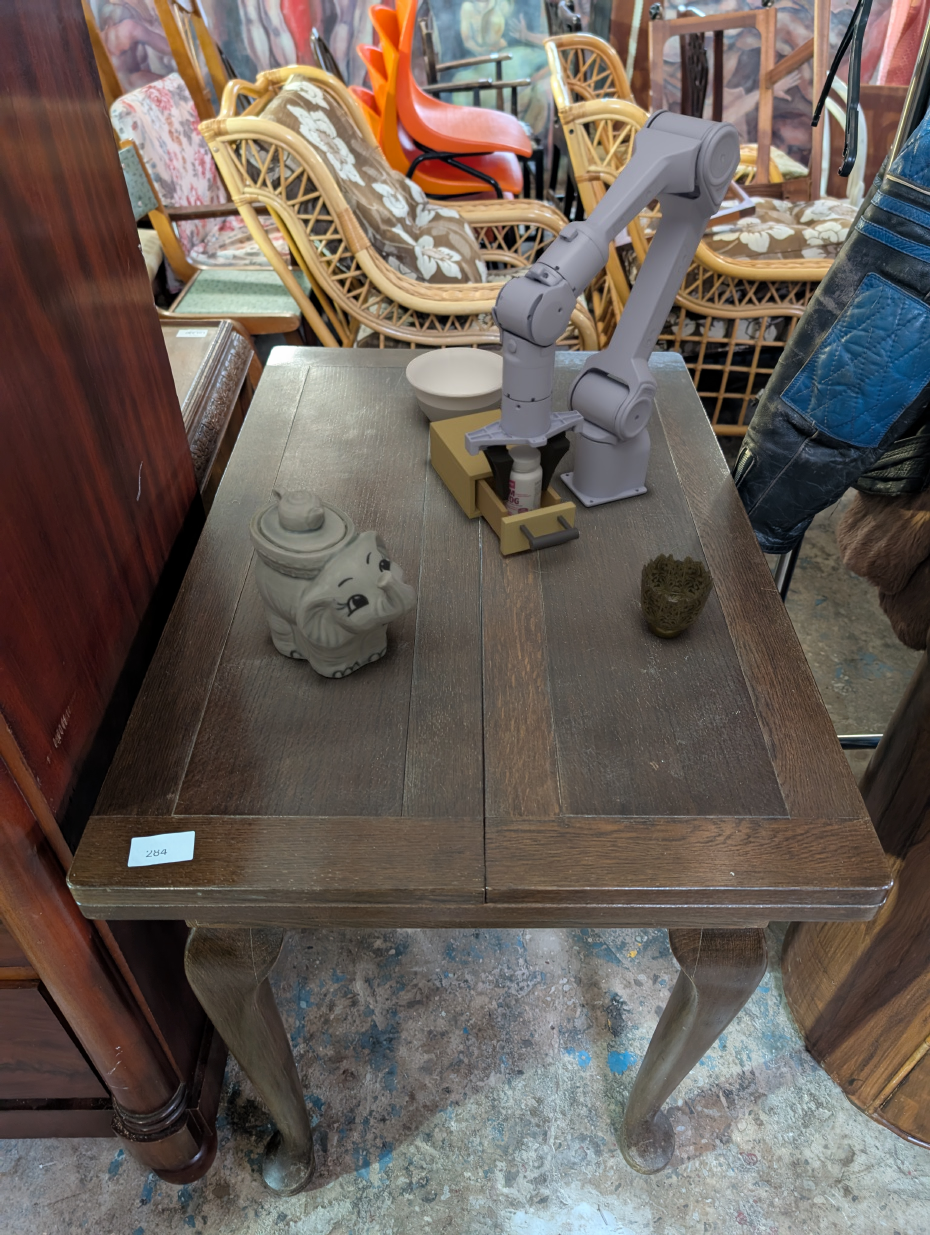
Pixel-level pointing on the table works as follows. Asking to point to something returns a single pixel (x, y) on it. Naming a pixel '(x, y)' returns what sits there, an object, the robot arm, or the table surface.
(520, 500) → the pill bottle
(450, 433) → the cabinet
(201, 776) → the table surface
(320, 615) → the grey elephant cookie jar
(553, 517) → the drawer
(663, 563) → the cup
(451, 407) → the bowl
